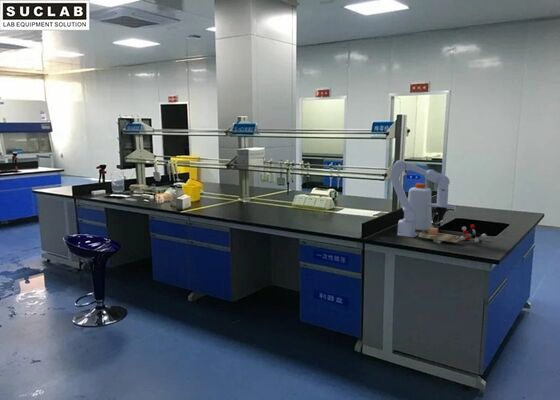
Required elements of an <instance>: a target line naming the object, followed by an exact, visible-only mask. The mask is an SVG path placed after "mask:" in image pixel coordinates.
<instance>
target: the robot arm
mask: <svg viewBox="0 0 560 400" xmlns="http://www.w3.org/2000/svg"><path fill="white" fill-rule="evenodd" d="M404 171H405V172H407V171H409V172H410V171H411V172H415V173H417V174H420V175H422V176H424V179H425V180H428V181H429V182H432V183H435V184H438V185H437V189H436V190H437V193H436V203H435V202H434V203H433V202H431V203H429V204H428V207H431V208H435V211H436V213H437V215H438V216H437V217H438V221H440V222H442V221H444V220H443V219H444V217H445V214H446V212H447V210H454V211H455V210H456V209H457V205H452V204H448V202H449V201H448V200H449V185H450V179H449V177H448V176H446V174H443V173H439V172H438V171H436V170H435V169H427V170H426V169H424V168H422V167H420V166H418V165H416V164H413V163H411V162H409V161H404V160H402V159H399V160H396V161H395V162H394V163H393V166H392V168H391V171H390V176H389V179H390V183H391V184H392V186H393V189H394V191H395V194H396V196H397V198H398V201H399V203H400V205H401V208H402V211H403V218H402V219H399V220H398V223H397V233H396V235H397V236H400V237H405V238H406V237H407V238H414V237H416V236H418V233H416V230H415V227H416V220H415V217H416V215H415V210H414V209H413V208H412V207H411V205H410V203H409V201H408V196H407V194H406V193H405V190H404V188H403V185H402V182H401V180H400V177H401V174H402V173H403V172H404Z"/></svg>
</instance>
